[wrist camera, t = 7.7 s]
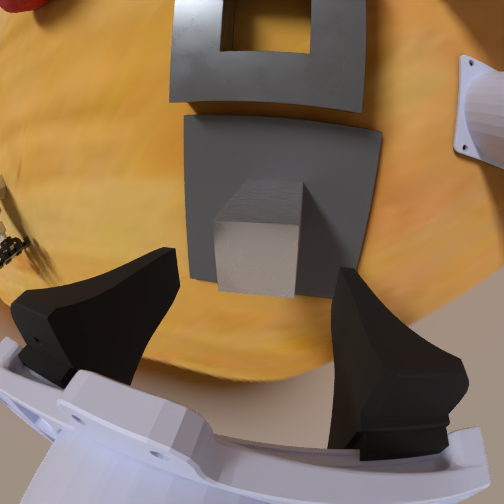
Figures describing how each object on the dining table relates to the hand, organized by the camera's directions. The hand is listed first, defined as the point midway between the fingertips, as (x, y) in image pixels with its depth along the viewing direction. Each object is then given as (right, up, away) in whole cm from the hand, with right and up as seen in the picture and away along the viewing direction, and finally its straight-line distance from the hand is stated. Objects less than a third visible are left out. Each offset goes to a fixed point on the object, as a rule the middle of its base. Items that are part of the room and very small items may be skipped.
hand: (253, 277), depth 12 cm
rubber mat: (+2, +4, +9) cm, 10 cm away
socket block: (+1, +17, +3) cm, 17 cm away
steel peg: (+2, +4, +9) cm, 10 cm away
